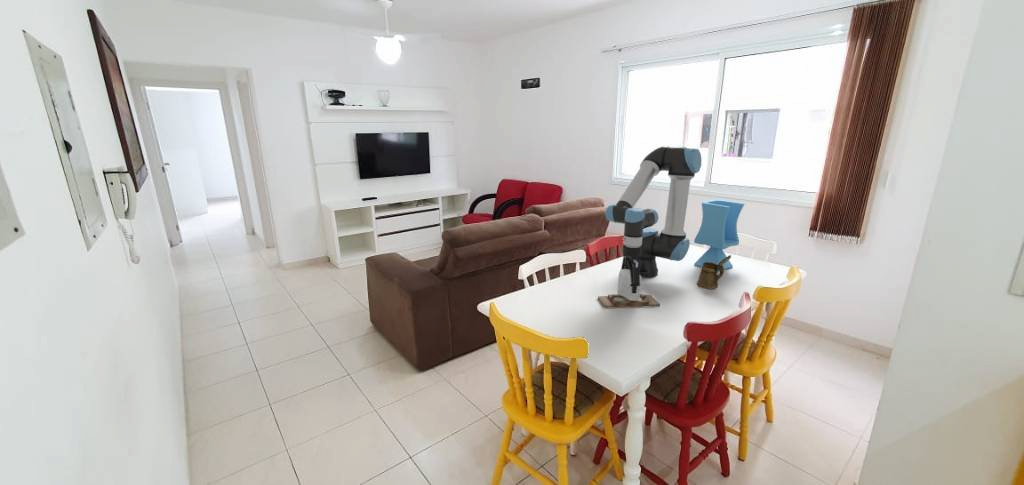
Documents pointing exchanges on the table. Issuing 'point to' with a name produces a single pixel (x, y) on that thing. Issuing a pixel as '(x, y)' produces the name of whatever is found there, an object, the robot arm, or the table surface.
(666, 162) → the robot arm
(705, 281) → the wooden mug
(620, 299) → the brown flat rectangular piece
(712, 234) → the planter
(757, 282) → the table surface
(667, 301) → the table surface
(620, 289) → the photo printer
